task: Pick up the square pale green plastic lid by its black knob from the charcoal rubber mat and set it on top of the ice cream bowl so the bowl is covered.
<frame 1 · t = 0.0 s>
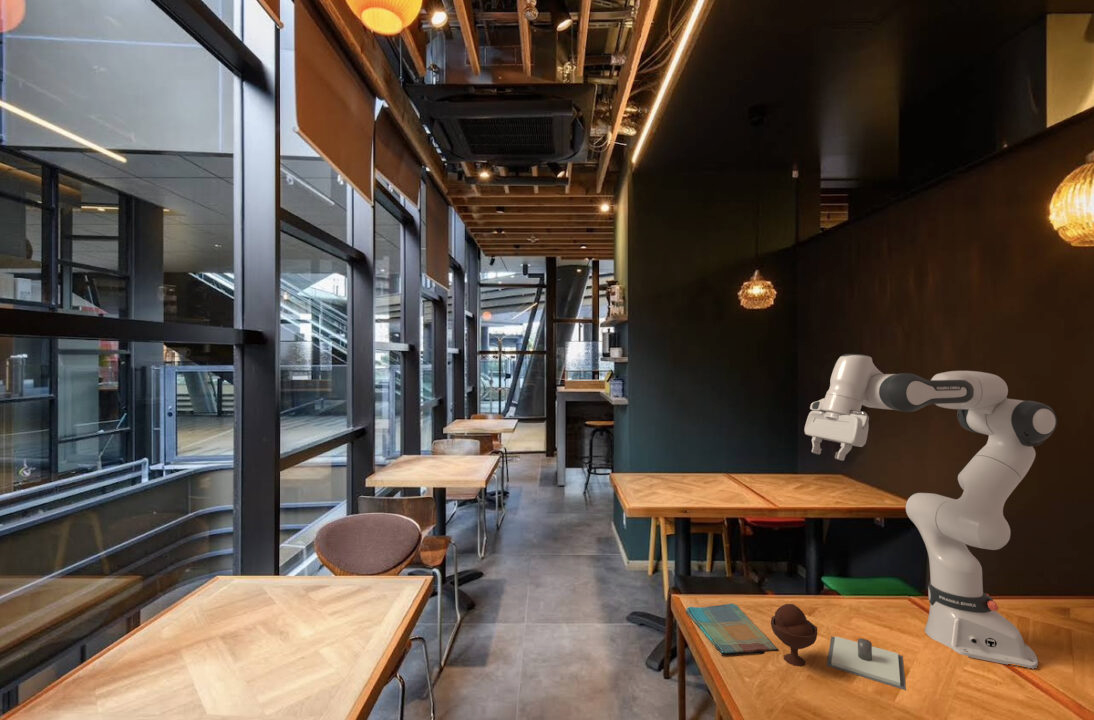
hand: (826, 456, 128), 52 cm above the table, tool tilted 20°, fingers open, 8 cm apart
ice cream bowl: (794, 662, 120), on the table
lid: (865, 660, 119), resting on mat
mat: (865, 662, 119), on the table
dish towel: (729, 633, 135), on the table
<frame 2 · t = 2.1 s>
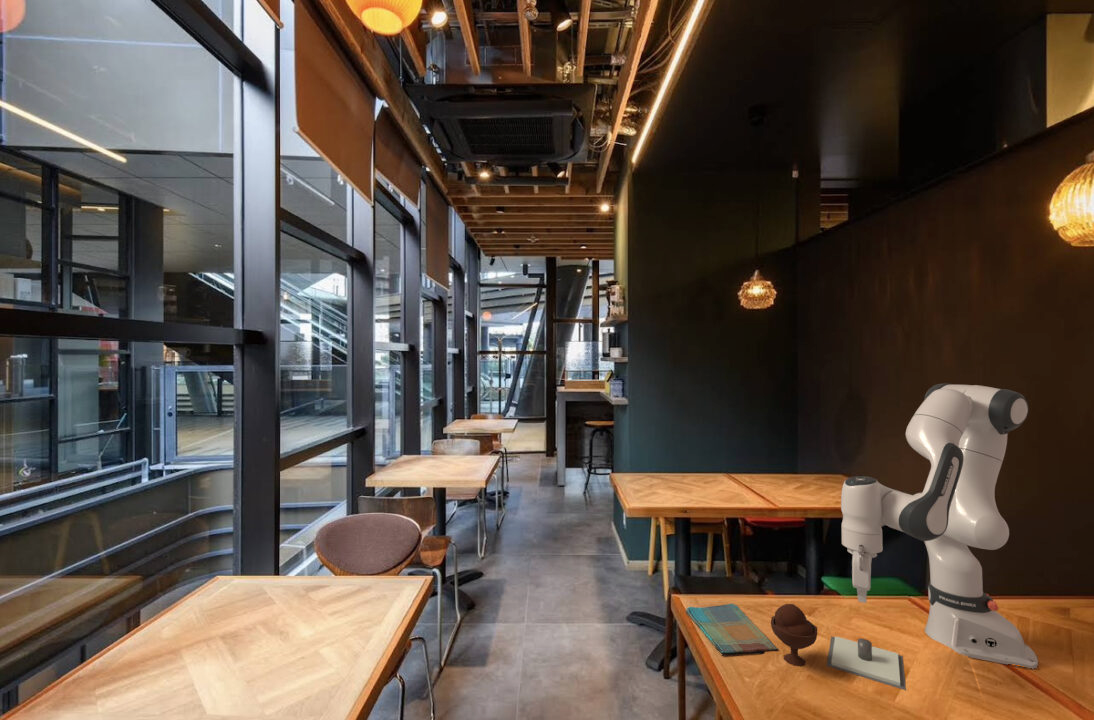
hand: (862, 594, 120), 18 cm above the table, tool pointing down, fingers open, 8 cm apart
nothing on the table moved.
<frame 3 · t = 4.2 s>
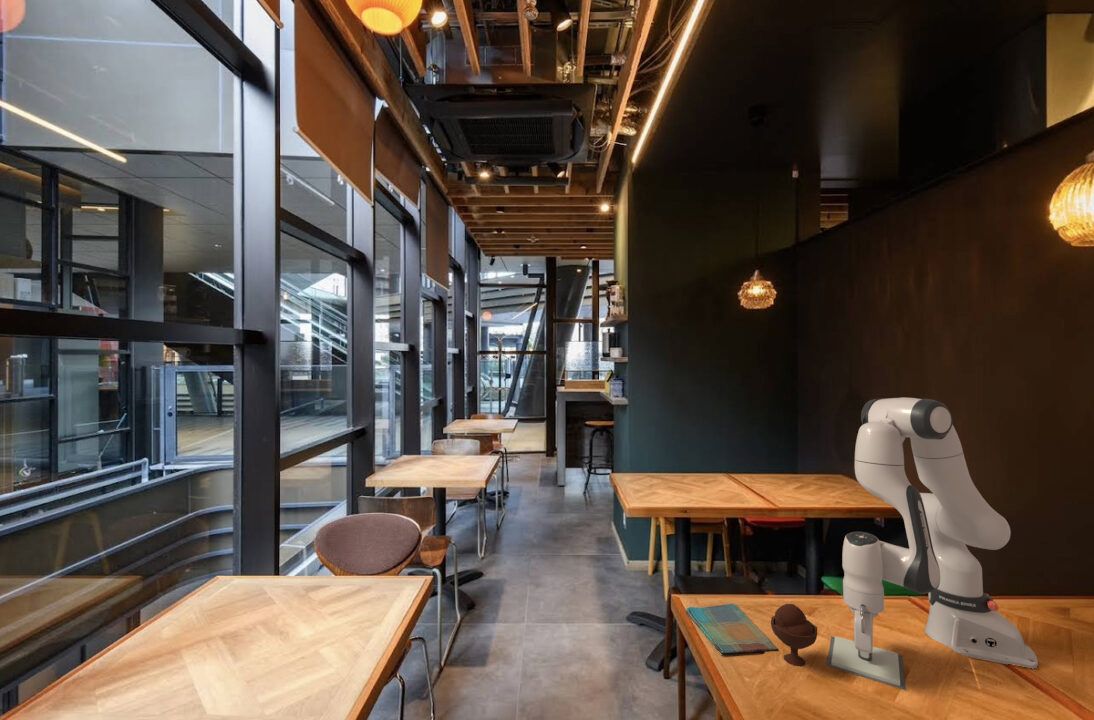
hand: (864, 652, 119), 3 cm above the table, tool pointing down, fingers closed on lid, 3 cm apart
lid: (865, 660, 119), resting on mat, touching gripper
everything else where it was.
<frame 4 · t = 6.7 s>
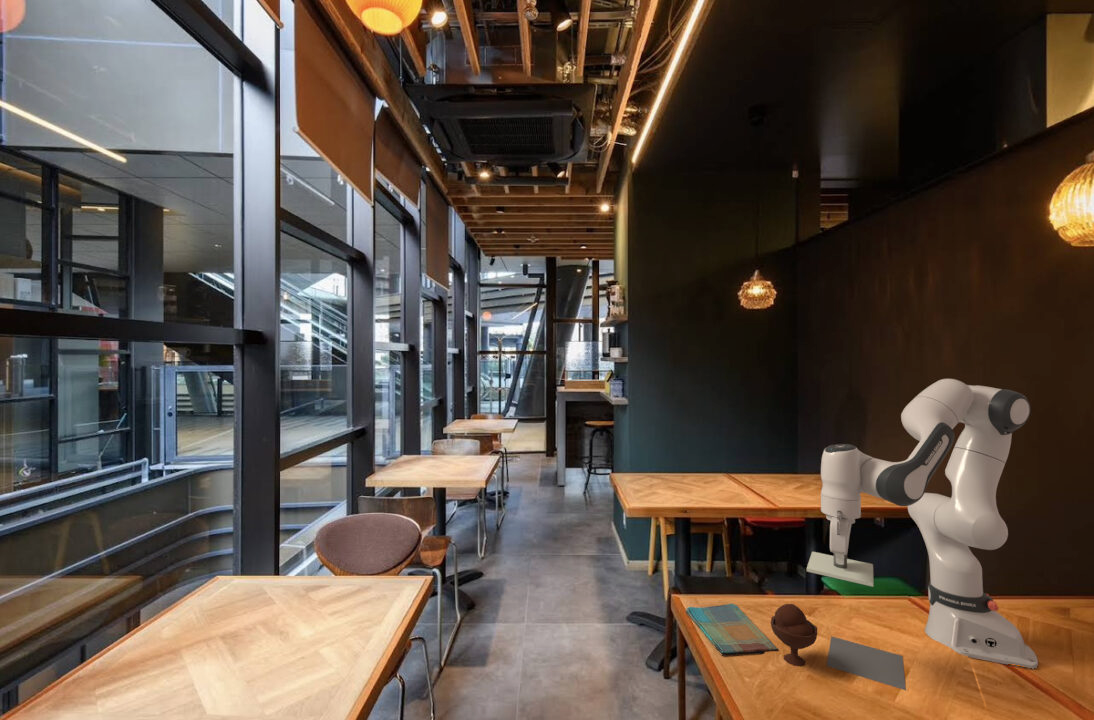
hand: (840, 560, 120), 26 cm above the table, tool pointing down, fingers closed on lid, 3 cm apart
lid: (840, 569, 120), point 24 cm above the table, touching gripper
everything else where it was.
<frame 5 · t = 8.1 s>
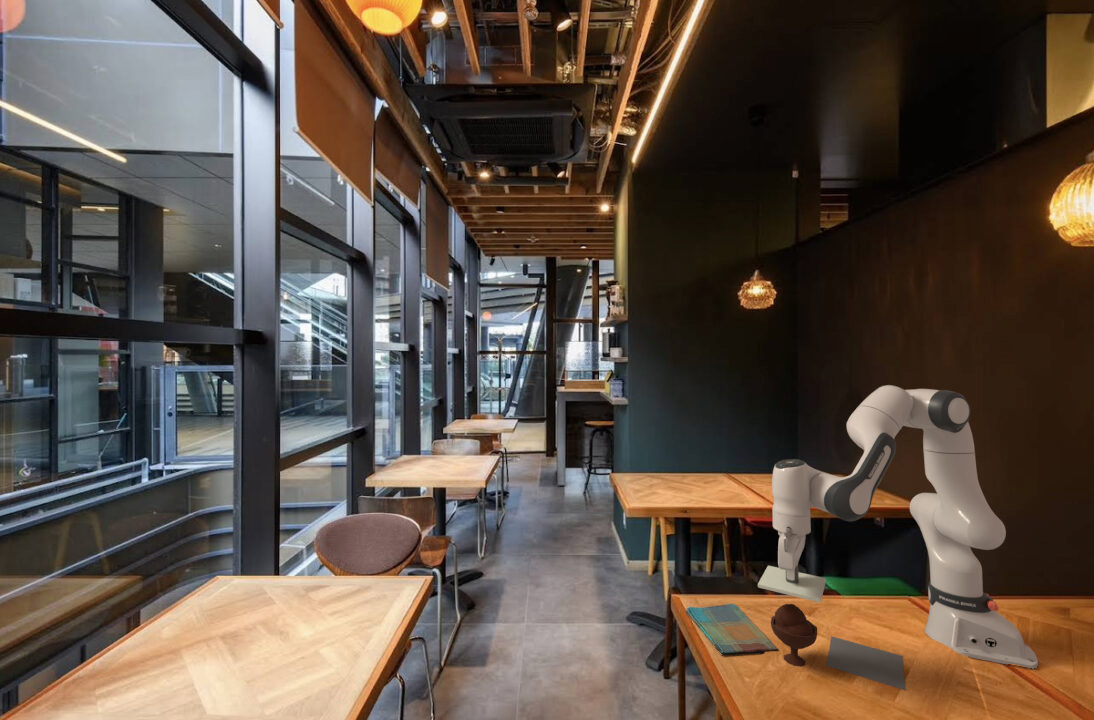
hand: (792, 575, 121), 22 cm above the table, tool pointing down, fingers closed on lid, 3 cm apart
lid: (792, 584, 121), point 20 cm above the table, touching gripper
everything else where it was.
when the fingers open (19 cm above the table, at t = 9.3 s): lid drops 2 cm, resting on ice cream bowl.
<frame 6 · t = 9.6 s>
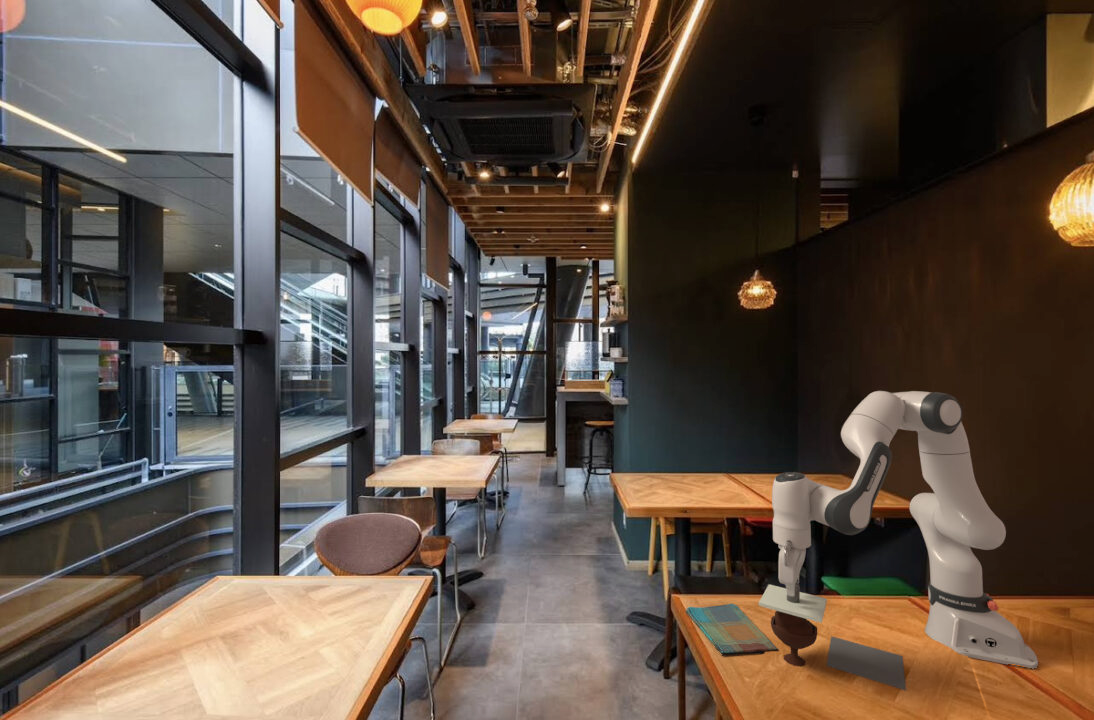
hand: (792, 589, 120), 19 cm above the table, tool pointing down, fingers open, 6 cm apart
ice cream bowl: (794, 662, 120), on the table, touching lid
lid: (793, 603, 120), point 15 cm above the table, touching ice cream bowl
everything else where it was.
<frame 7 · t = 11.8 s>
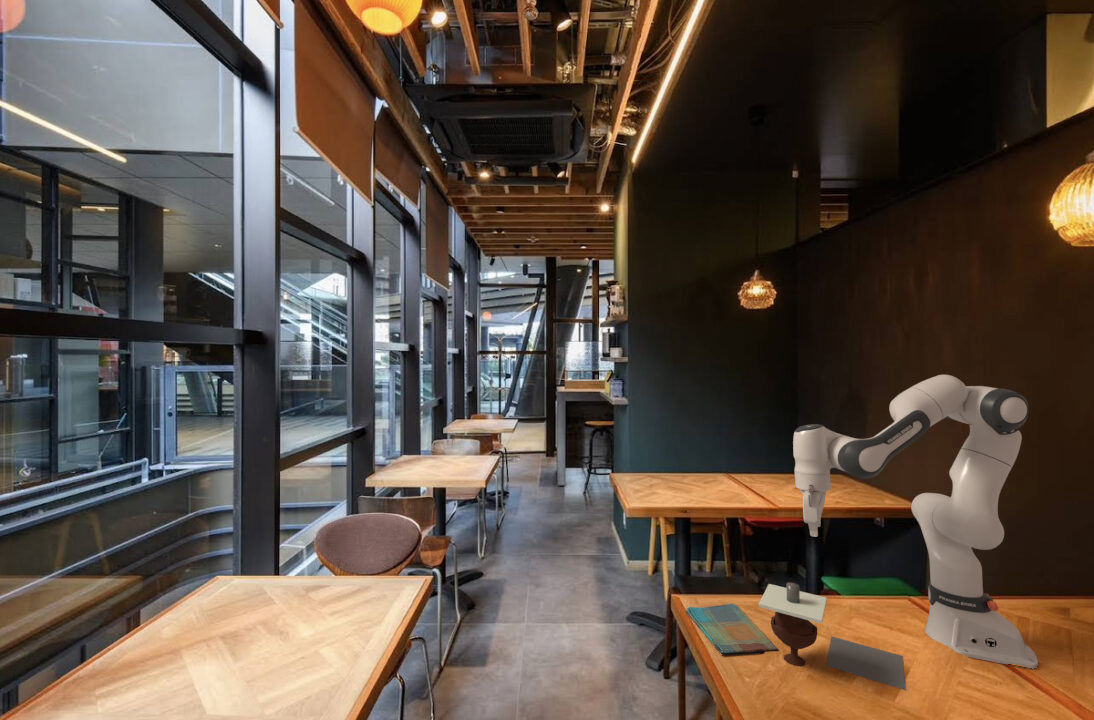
hand: (815, 530, 131), 30 cm above the table, tool pointing down, fingers open, 8 cm apart
nothing on the table moved.
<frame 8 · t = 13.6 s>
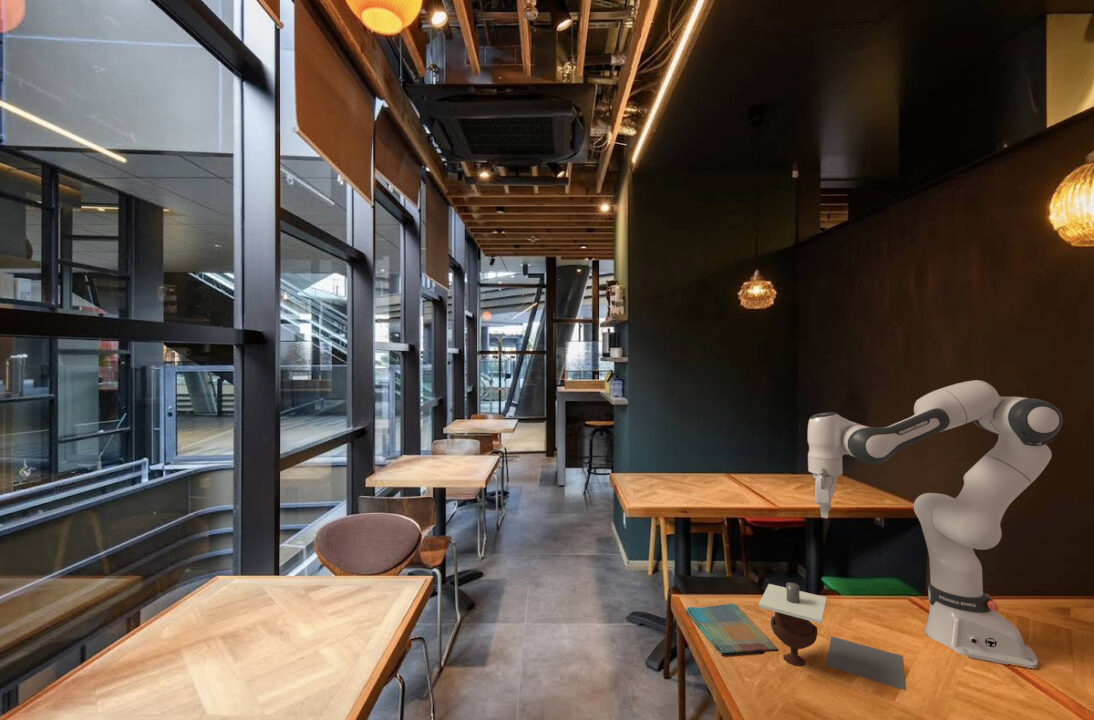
hand: (826, 513, 138), 33 cm above the table, tool pointing down, fingers open, 8 cm apart
nothing on the table moved.
at the end: lid 0.1 cm off-centre on the ice cream bowl, point 15.2 cm above the ice cream bowl's base; lid tilted 0°; ice cream bowl moved 0.2 cm from its start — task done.
